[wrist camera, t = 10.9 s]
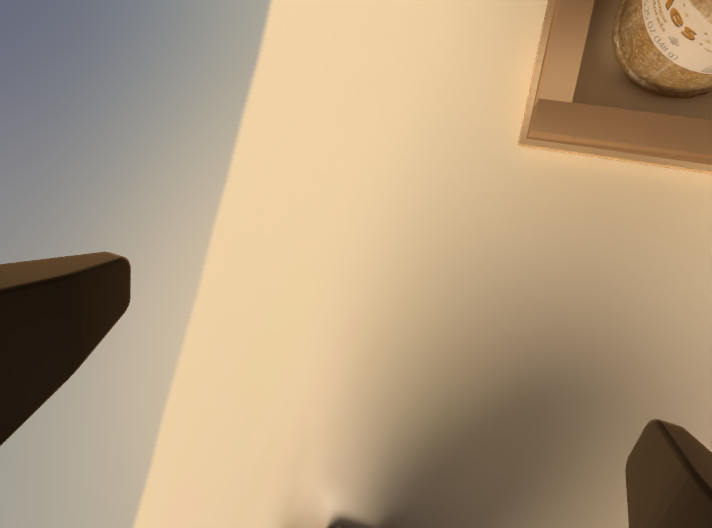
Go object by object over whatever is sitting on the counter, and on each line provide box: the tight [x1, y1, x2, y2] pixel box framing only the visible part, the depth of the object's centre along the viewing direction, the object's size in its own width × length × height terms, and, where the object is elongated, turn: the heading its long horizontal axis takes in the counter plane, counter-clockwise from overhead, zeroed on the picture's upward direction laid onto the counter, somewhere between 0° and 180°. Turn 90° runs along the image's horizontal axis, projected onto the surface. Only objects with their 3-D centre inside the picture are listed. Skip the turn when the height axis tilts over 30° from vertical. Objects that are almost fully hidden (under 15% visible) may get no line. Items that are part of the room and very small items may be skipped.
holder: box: [518, 0, 712, 174], centre depth 17 cm, size 9×9×3 cm
